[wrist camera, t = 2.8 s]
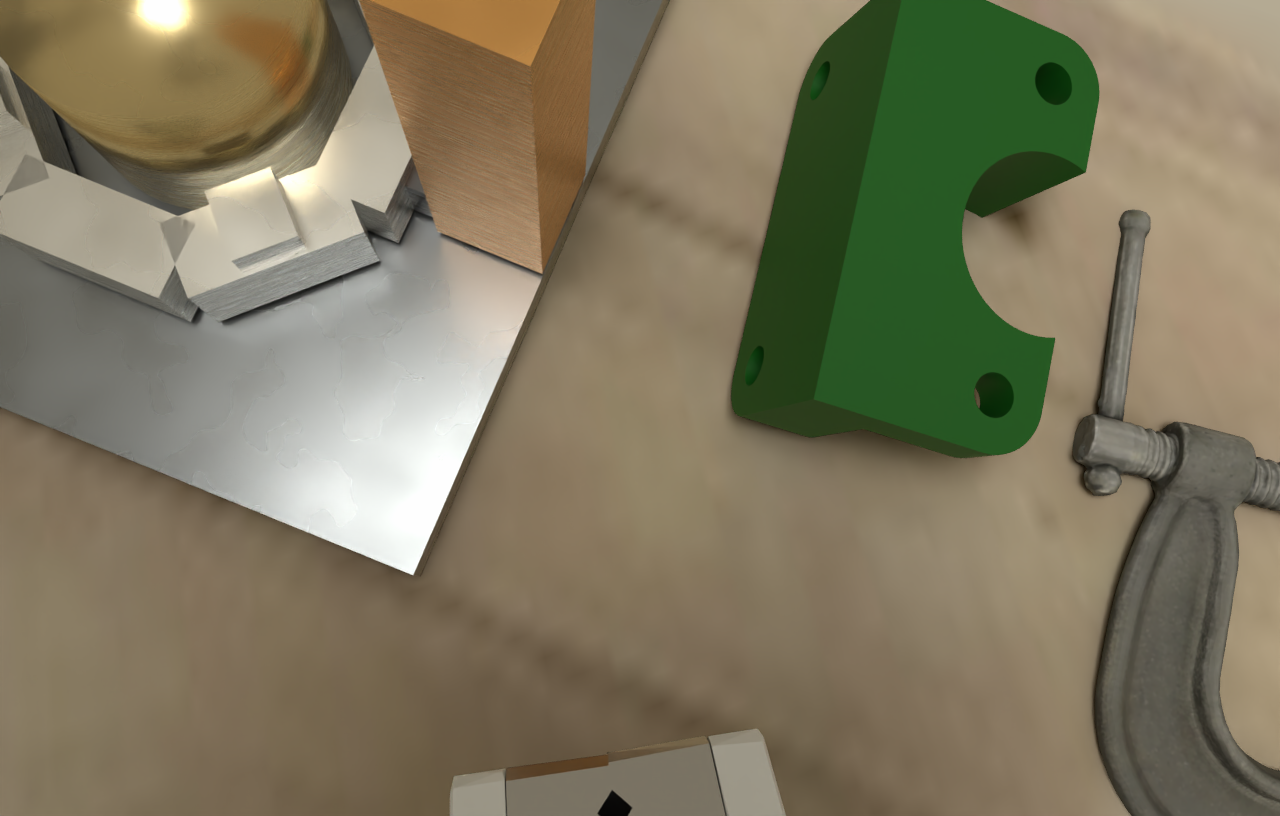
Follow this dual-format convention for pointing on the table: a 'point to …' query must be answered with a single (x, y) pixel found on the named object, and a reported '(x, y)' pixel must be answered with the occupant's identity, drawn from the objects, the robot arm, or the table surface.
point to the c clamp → (1171, 592)
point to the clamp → (910, 227)
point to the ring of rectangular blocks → (340, 166)
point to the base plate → (293, 325)
